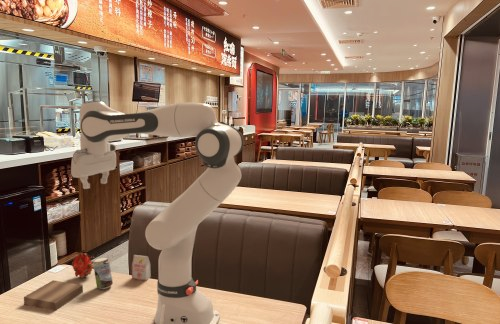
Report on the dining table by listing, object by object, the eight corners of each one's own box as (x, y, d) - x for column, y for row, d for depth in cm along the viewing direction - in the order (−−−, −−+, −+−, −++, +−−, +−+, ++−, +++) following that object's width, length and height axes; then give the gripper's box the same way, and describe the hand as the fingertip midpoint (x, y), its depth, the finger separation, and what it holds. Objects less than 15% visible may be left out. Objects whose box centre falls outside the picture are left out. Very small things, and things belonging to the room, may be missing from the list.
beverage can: (107, 291, 146) (106, 263, 144) (90, 289, 147) (89, 261, 146) (116, 284, 152) (115, 257, 150) (100, 282, 153) (99, 255, 152)
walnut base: (83, 293, 145) (82, 285, 145) (55, 311, 132) (55, 302, 131) (53, 288, 149) (53, 280, 148) (24, 305, 135) (23, 297, 135)
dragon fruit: (86, 282, 153) (85, 255, 151) (67, 281, 154) (66, 253, 152) (98, 274, 161) (96, 247, 160) (80, 272, 162) (78, 246, 161)
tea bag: (136, 275, 161) (136, 253, 160) (150, 276, 160) (150, 255, 158) (132, 278, 158) (131, 256, 156) (146, 280, 156) (145, 258, 155)
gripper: (81, 151, 119) (83, 192, 121) (119, 145, 139) (119, 181, 141) (65, 150, 121) (67, 191, 123) (104, 144, 140) (105, 180, 142)
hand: (95, 185), depth 132 cm, fingers open, 8 cm apart
